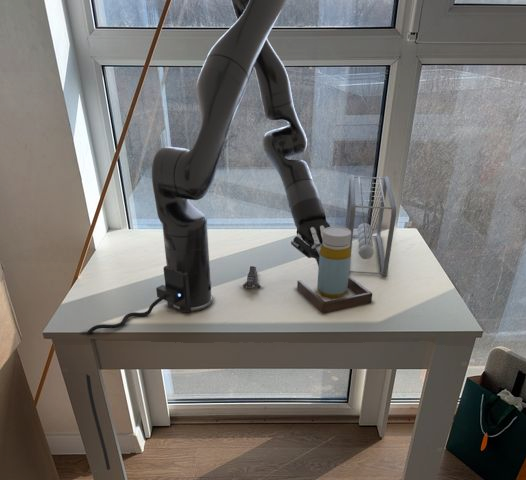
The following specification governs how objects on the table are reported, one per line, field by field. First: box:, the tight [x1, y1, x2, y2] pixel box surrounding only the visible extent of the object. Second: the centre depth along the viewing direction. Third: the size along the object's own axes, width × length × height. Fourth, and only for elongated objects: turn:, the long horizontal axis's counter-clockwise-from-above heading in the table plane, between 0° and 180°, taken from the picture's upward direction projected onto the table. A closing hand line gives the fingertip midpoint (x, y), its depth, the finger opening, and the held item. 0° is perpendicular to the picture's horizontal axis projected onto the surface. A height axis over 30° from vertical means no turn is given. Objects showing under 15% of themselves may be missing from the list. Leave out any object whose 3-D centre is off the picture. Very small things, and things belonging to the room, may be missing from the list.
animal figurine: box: [242, 265, 262, 289], centre depth 121 cm, size 12×4×5 cm, turn 174°
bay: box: [296, 275, 373, 314], centre depth 117 cm, size 13×13×2 cm
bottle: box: [316, 225, 352, 299], centre depth 116 cm, size 7×7×15 cm
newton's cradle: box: [344, 174, 397, 277], centre depth 133 cm, size 30×10×18 cm, turn 172°
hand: (327, 271), depth 119 cm, fingers closed
